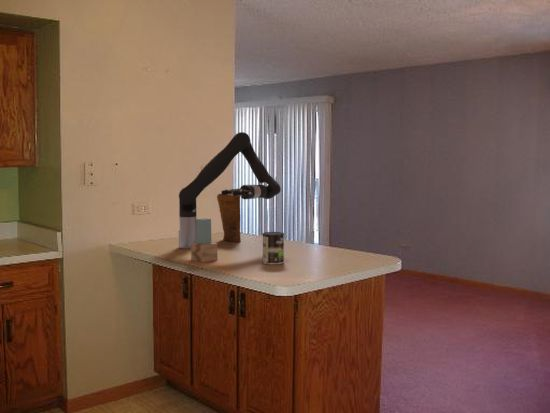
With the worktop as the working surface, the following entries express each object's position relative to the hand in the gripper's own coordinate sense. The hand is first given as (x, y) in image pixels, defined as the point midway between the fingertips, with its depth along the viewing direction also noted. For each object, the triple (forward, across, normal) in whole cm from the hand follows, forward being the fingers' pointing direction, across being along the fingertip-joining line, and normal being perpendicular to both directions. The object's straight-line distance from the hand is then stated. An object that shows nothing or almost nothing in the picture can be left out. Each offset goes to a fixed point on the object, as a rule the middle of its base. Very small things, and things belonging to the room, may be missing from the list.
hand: (227, 193), depth 286 cm
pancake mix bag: (-34, -34, +32) cm, 58 cm away
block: (+16, 0, +32) cm, 35 cm away
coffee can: (-1, +30, +32) cm, 44 cm away
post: (+16, 0, +24) cm, 29 cm away
